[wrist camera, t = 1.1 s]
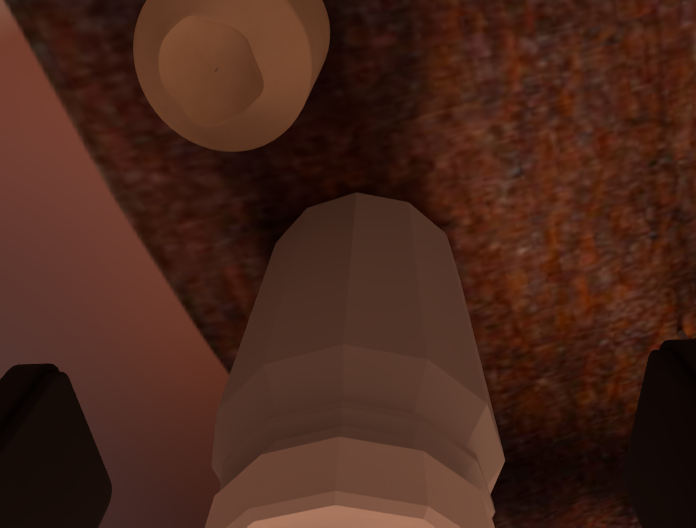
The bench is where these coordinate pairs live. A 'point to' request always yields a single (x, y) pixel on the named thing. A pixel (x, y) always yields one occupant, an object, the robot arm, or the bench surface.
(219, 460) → the jar
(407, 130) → the bench surface
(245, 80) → the candle
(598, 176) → the bench surface
